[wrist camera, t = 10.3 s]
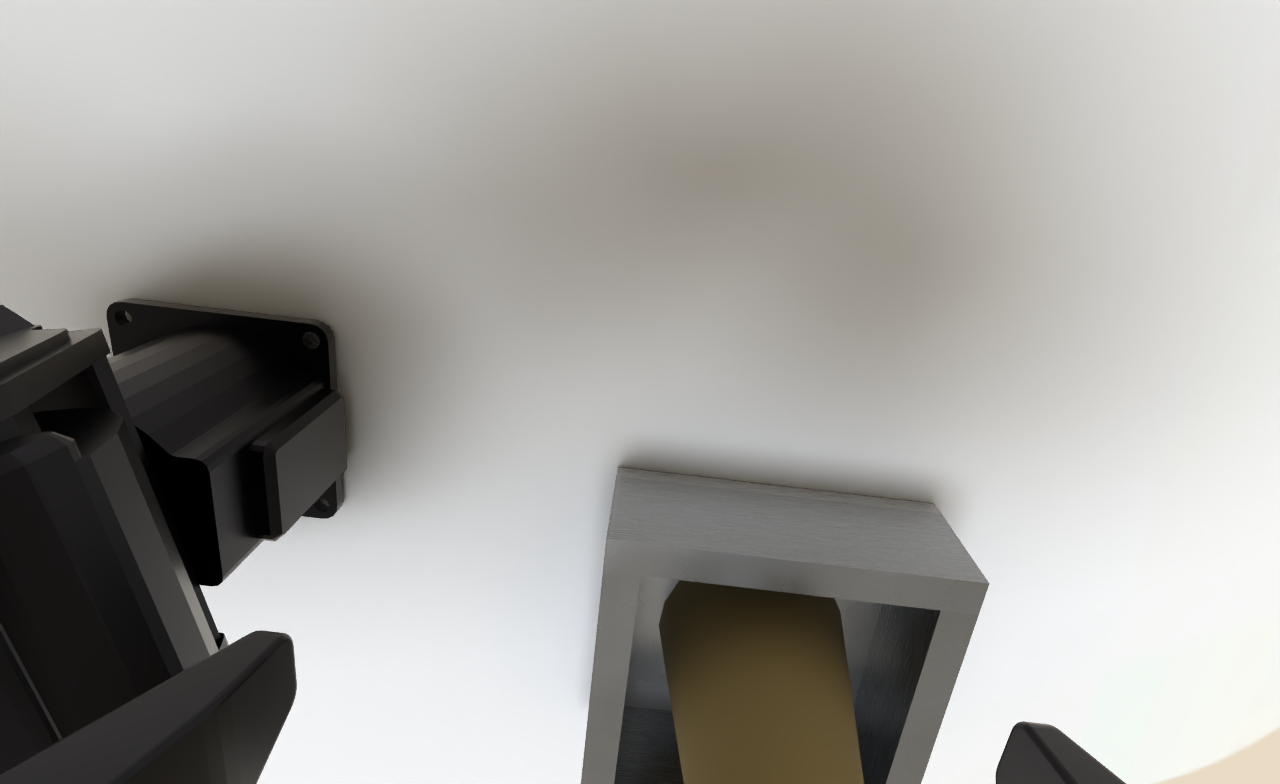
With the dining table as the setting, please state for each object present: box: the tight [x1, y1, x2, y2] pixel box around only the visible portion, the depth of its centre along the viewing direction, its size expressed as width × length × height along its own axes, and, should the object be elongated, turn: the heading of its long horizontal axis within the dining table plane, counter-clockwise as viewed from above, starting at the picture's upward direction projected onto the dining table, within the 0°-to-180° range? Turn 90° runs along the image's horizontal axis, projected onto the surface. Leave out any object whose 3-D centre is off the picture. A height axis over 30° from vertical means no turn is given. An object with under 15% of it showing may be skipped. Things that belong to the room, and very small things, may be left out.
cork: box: [659, 580, 864, 784], centre depth 18 cm, size 6×6×11 cm
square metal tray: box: [581, 467, 989, 784], centre depth 22 cm, size 10×10×4 cm
